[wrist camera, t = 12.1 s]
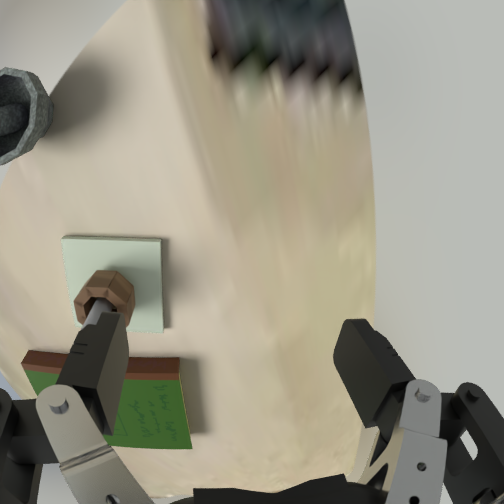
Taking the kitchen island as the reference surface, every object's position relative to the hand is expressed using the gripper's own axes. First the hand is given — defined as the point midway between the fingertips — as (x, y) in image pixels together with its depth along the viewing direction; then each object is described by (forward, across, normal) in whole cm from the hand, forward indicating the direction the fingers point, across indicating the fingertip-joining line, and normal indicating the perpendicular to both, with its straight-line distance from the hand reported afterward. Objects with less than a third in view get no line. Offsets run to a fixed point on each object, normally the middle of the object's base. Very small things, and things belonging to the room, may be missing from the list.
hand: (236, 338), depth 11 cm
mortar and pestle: (+24, +23, -8) cm, 34 cm away
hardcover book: (+23, +15, +33) cm, 43 cm away
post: (+23, +11, +12) cm, 29 cm away
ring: (+21, +11, +12) cm, 27 cm away
